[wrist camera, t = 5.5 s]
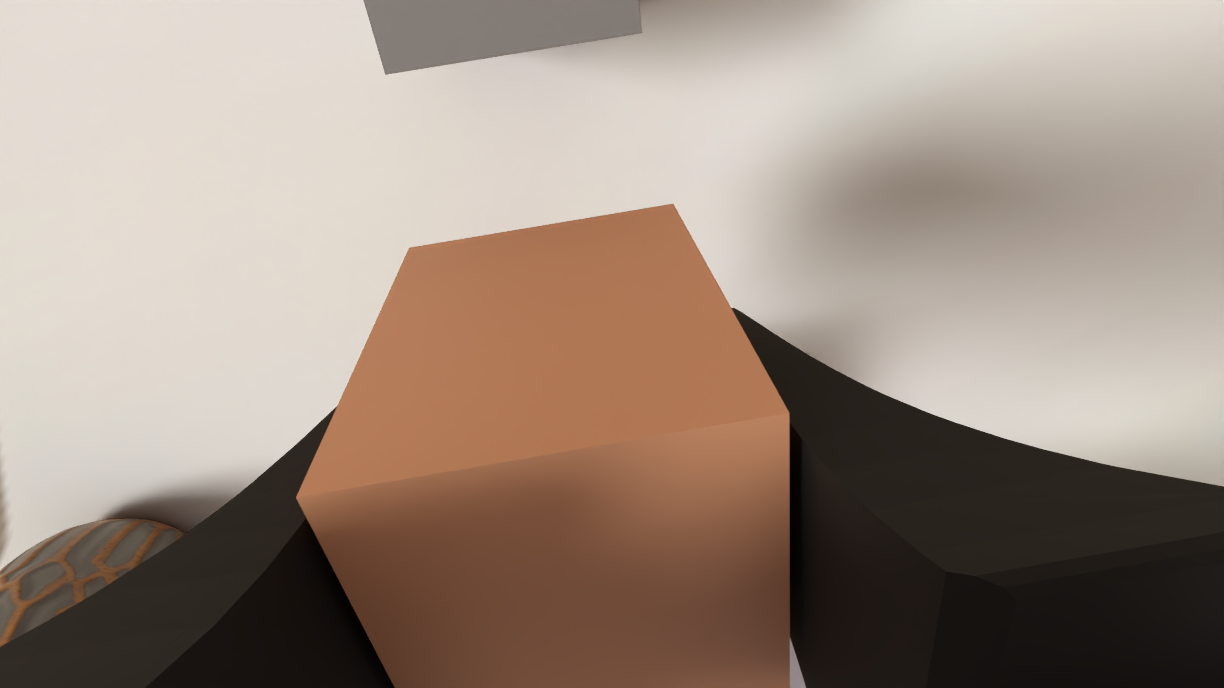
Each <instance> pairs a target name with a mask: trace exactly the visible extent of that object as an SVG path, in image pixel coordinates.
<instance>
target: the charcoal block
mask: <svg viewBox="0 0 1224 688" xmlns="http://www.w3.org/2000/svg"><path fill="white" fill-rule="evenodd" d="M364 3H365V7H366V10H367V14H368V17H369V20H370V24H371V27H372V31H373V34H374V37H375V41H376V44H377V48H378V51H379V54H380V58H381V61H382V65H383V68H384V72H385V75H386V74H392V73H398V72H404V71H411V70H417V69H423V68H429V67H435V66H441V65H448V64H454V63H460V62H466V61H472V60H478V59H485V58H491V57H497V56H503V55H509V54H515V53H522V52H528V51H534V50H540V49H546V48H552V47H559V46H565V45H571V44H577V43H583V42H589V41H596V40H602V39H608V38H614V37H620V36H626V35H633V34H639V33H642V28H641V18H640V8H639V0H364Z"/></svg>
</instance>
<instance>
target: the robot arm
mask: <svg viewBox="0 0 1224 688" xmlns="http://www.w3.org/2000/svg"><path fill="white" fill-rule="evenodd" d="M731 309H732V311H733V312H734V314H735V316H736V318H737V320H738V321H739V323H740V325H741V327H742V329H743V330H744V332H745V334H746V336H747V338H748V339H749V341H750V343H751V345H752V347H753V348H754V350H755V352H756V354H757V356H758V357H759V359H760V361H761V363H762V365H763V366H764V368H765V370H766V372H767V374H768V375H769V377H770V379H771V381H772V383H773V384H774V386H775V388H776V390H777V391H778V393H779V395H780V397H781V399H782V400H783V402H784V404H785V406H786V408H787V409H788V411H789V444H790V688H1224V487H1223V486H1217V485H1212V484H1206V483H1201V482H1196V481H1190V480H1185V479H1179V478H1174V477H1168V476H1163V475H1158V474H1152V473H1147V472H1141V471H1136V470H1130V469H1125V468H1120V467H1115V466H1110V465H1105V464H1101V463H1097V462H1093V461H1088V460H1084V459H1080V458H1076V457H1072V456H1068V455H1064V454H1060V453H1056V452H1051V451H1047V450H1043V449H1040V448H1036V447H1032V446H1029V445H1025V444H1022V443H1018V442H1015V441H1011V440H1007V439H1004V438H1001V437H998V436H995V435H992V434H988V433H985V432H982V431H979V430H976V429H973V428H970V427H967V426H964V425H961V424H958V423H955V422H952V421H949V420H946V419H944V418H941V417H938V416H935V415H933V414H930V413H927V412H925V411H922V410H920V409H918V408H915V407H913V406H910V405H908V404H906V403H903V402H901V401H898V400H896V399H893V398H891V397H889V396H886V395H884V394H882V393H880V392H878V391H875V390H873V389H871V388H869V387H867V386H865V385H863V384H861V383H859V382H857V381H855V380H853V379H851V378H849V377H847V376H846V375H844V374H842V373H840V372H838V371H836V370H834V369H832V368H830V367H829V366H827V365H825V364H823V363H821V362H820V361H818V360H816V359H814V358H813V357H811V356H809V355H808V354H806V353H804V352H803V351H801V350H799V349H798V348H796V347H794V346H793V345H791V344H790V343H788V342H786V341H785V340H783V339H782V338H780V337H779V336H777V335H775V334H774V333H772V332H771V331H769V330H768V329H766V328H765V327H763V326H762V325H760V324H759V323H757V322H756V321H754V320H753V319H751V318H750V317H748V316H746V315H745V314H743V313H742V312H740V311H739V310H737V309H735V308H731ZM336 408H337V407H336ZM336 408H335V409H334V410H333V411H331V412H330V413H329V414H328V415H327V416H326V417H325V418H324V419H323V420H322V421H321V422H320V423H319V424H318V425H317V426H316V427H315V428H313V429H312V430H311V431H310V432H309V433H308V434H307V435H306V436H305V437H304V438H303V439H302V440H301V441H300V442H299V443H297V444H296V445H295V446H294V447H293V448H292V449H291V450H289V451H288V452H287V453H286V454H285V455H284V456H282V457H281V458H280V459H279V460H278V461H277V462H276V463H274V464H273V465H272V466H271V467H270V468H269V469H267V470H266V471H265V472H264V473H263V474H262V475H261V476H259V477H258V478H257V479H256V480H255V481H254V482H253V483H251V484H250V485H249V486H248V487H247V488H245V489H244V490H243V491H242V492H240V493H239V494H238V495H237V496H235V497H234V498H233V499H232V500H230V501H229V502H228V503H226V504H225V505H224V506H223V507H221V508H220V509H219V510H217V511H216V512H215V513H213V514H212V515H211V516H209V517H208V518H206V519H205V520H204V521H202V522H201V523H200V524H198V525H197V526H196V527H194V528H193V529H191V530H190V531H189V532H187V533H186V534H185V535H183V536H182V537H180V538H179V539H177V540H176V541H175V542H173V543H172V544H170V545H169V546H167V547H166V548H164V549H163V550H161V551H160V552H158V553H156V554H155V555H153V556H152V557H150V558H149V559H147V560H146V561H144V562H142V563H141V564H139V565H138V566H136V567H135V568H133V569H132V570H130V571H128V572H127V573H125V574H124V575H122V576H121V577H119V578H118V579H116V580H114V581H113V582H111V583H110V584H108V585H107V586H105V587H104V588H102V589H101V590H99V591H97V592H96V593H94V594H92V595H91V596H89V597H87V598H86V599H84V600H82V601H81V602H79V603H77V604H75V605H74V606H72V607H70V608H69V609H67V610H65V611H63V612H62V613H60V614H58V615H57V616H55V617H53V618H51V619H50V620H48V621H46V622H44V623H43V624H41V625H39V626H37V627H35V628H34V629H32V630H30V631H28V632H26V633H24V634H23V635H21V636H19V637H17V638H15V639H14V640H12V641H10V642H8V643H6V644H4V645H3V646H1V647H0V688H395V687H394V685H393V683H392V682H391V680H390V678H389V676H388V674H387V672H386V670H385V668H384V666H383V664H382V662H381V660H380V658H379V657H378V655H377V653H376V651H375V649H374V647H373V645H372V643H371V641H370V639H369V637H368V635H367V633H366V631H365V630H364V628H363V626H362V624H361V622H360V620H359V618H358V616H357V614H356V612H355V610H354V608H353V606H352V605H351V603H350V601H349V599H348V597H347V595H346V593H345V591H344V589H343V587H342V585H341V583H340V581H339V579H338V578H337V576H336V574H335V572H334V570H333V568H332V566H331V564H330V562H329V560H328V558H327V556H326V554H325V553H324V551H323V549H322V547H321V545H320V543H319V541H318V539H317V537H316V535H315V533H314V531H313V529H312V528H311V526H310V524H309V522H308V520H307V518H306V516H305V514H304V512H303V510H302V508H301V506H300V504H299V502H298V501H297V499H296V496H297V494H298V492H299V490H300V488H301V485H302V483H303V481H304V479H305V477H306V474H307V472H308V470H309V468H310V466H311V463H312V461H313V459H314V457H315V455H316V452H317V450H318V448H319V446H320V443H321V441H322V439H323V437H324V435H325V432H326V430H327V428H328V426H329V424H330V421H331V419H332V417H333V415H334V413H335V410H336Z"/></svg>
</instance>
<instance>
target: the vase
mask: <svg viewBox="0 0 1224 688" xmlns="http://www.w3.org/2000/svg"><path fill="white" fill-rule="evenodd" d="M183 535H185V533H183V532H182V531H180V530H178V529H176V528H174V527H172V526H169V525H167V524H164V523H160V522H157V521H152V520H146V519H132V518H126V519H111V520H101V521H95V522H91V523H87V524H83V525H80V526H76V527H73V528H69V529H67V530H64V531H62V532H60V533H58V534H56V535H54V536H52V537H49V538H47V539H45V540H43V541H42V542H40V543H38V544H37V545H35V546H33V547H32V548H30V549H29V550H27V551H25V552H24V553H22V554H21V555H20V556H18V557H17V558H16V559H14V560H13V561H12V562H10V563H9V564H7V565H6V566H5V567H4V568H3V569H1V570H0V647H1V646H3V645H4V644H6V643H8V642H10V641H12V640H14V639H15V638H17V637H19V636H21V635H23V634H24V633H26V632H28V631H30V630H32V629H34V628H35V627H37V626H39V625H41V624H43V623H44V622H46V621H48V620H50V619H51V618H53V617H55V616H57V615H58V614H60V613H62V612H63V611H65V610H67V609H69V608H70V607H72V606H74V605H75V604H77V603H79V602H81V601H82V600H84V599H86V598H87V597H89V596H91V595H92V594H94V593H96V592H97V591H99V590H101V589H102V588H104V587H105V586H107V585H108V584H110V583H111V582H113V581H114V580H116V579H118V578H119V577H121V576H122V575H124V574H125V573H127V572H128V571H130V570H132V569H133V568H135V567H136V566H138V565H139V564H141V563H142V562H144V561H146V560H147V559H149V558H150V557H152V556H153V555H155V554H156V553H158V552H160V551H161V550H163V549H164V548H166V547H167V546H169V545H170V544H172V543H173V542H175V541H176V540H177V539H179V538H180V537H182V536H183Z"/></svg>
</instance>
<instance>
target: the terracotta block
mask: <svg viewBox="0 0 1224 688" xmlns="http://www.w3.org/2000/svg"><path fill="white" fill-rule="evenodd" d="M296 499H297V501H298V502H299V504H300V506H301V508H302V510H303V512H304V514H305V516H306V518H307V520H308V522H309V524H310V526H311V528H312V529H313V531H314V533H315V535H316V537H317V539H318V541H319V543H320V545H321V547H322V549H323V551H324V553H325V554H326V556H327V558H328V560H329V562H330V564H331V566H332V568H333V570H334V572H335V574H336V576H337V578H338V579H339V581H340V583H341V585H342V587H343V589H344V591H345V593H346V595H347V597H348V599H349V601H350V603H351V605H352V606H353V608H354V610H355V612H356V614H357V616H358V618H359V620H360V622H361V624H362V626H363V628H364V630H365V631H366V633H367V635H368V637H369V639H370V641H371V643H372V645H373V647H374V649H375V651H376V653H377V655H378V657H379V658H380V660H381V662H382V664H383V666H384V668H385V670H386V672H387V674H388V676H389V678H390V680H391V682H392V683H393V685H394V687H395V688H790V444H789V411H788V409H787V408H786V406H785V404H784V402H783V400H782V399H781V397H780V395H779V393H778V391H777V390H776V388H775V386H774V384H773V383H772V381H771V379H770V377H769V375H768V374H767V372H766V370H765V368H764V366H763V365H762V363H761V361H760V359H759V357H758V356H757V354H756V352H755V350H754V348H753V347H752V345H751V343H750V341H749V339H748V338H747V336H746V334H745V332H744V330H743V329H742V327H741V325H740V323H739V321H738V320H737V318H736V316H735V314H734V312H733V311H732V309H731V307H730V305H729V303H728V302H727V300H726V298H725V296H724V294H723V293H722V291H721V289H720V287H719V285H718V284H717V282H716V280H715V278H714V276H713V275H712V273H711V271H710V269H709V267H708V266H707V264H706V262H705V260H704V258H703V257H702V255H701V253H700V251H699V249H698V248H697V246H696V244H695V242H694V240H693V239H692V237H691V235H690V233H689V231H688V230H687V228H686V226H685V224H684V222H683V221H682V219H681V217H680V215H679V213H678V212H677V210H676V208H675V206H674V204H669V205H663V206H657V207H651V208H645V209H639V210H633V211H627V212H621V213H615V214H609V215H603V216H597V217H591V218H585V219H579V220H573V221H567V222H561V223H555V224H549V225H543V226H537V227H531V228H525V229H519V230H513V231H507V232H501V233H495V234H489V235H484V236H478V237H472V238H466V239H460V240H454V241H448V242H442V243H436V244H430V245H424V246H418V247H412V248H409V250H408V252H407V254H406V256H405V258H404V261H403V263H402V265H401V267H400V269H399V272H398V274H397V276H396V278H395V280H394V283H393V285H392V287H391V289H390V291H389V294H388V296H387V298H386V300H385V302H384V305H383V307H382V309H381V311H380V313H379V316H378V318H377V320H376V322H375V325H374V327H373V329H372V331H371V333H370V336H369V338H368V340H367V342H366V344H365V347H364V349H363V351H362V353H361V355H360V358H359V360H358V362H357V364H356V366H355V369H354V371H353V373H352V375H351V377H350V380H349V382H348V384H347V386H346V388H345V391H344V393H343V395H342V397H341V399H340V402H339V404H338V406H337V408H336V410H335V413H334V415H333V417H332V419H331V421H330V424H329V426H328V428H327V430H326V432H325V435H324V437H323V439H322V441H321V443H320V446H319V448H318V450H317V452H316V455H315V457H314V459H313V461H312V463H311V466H310V468H309V470H308V472H307V474H306V477H305V479H304V481H303V483H302V485H301V488H300V490H299V492H298V494H297V496H296Z"/></svg>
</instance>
